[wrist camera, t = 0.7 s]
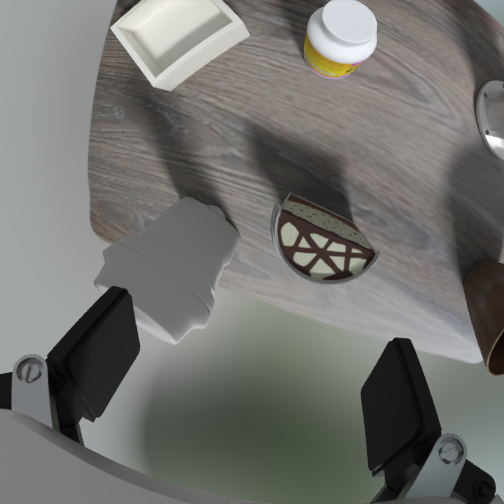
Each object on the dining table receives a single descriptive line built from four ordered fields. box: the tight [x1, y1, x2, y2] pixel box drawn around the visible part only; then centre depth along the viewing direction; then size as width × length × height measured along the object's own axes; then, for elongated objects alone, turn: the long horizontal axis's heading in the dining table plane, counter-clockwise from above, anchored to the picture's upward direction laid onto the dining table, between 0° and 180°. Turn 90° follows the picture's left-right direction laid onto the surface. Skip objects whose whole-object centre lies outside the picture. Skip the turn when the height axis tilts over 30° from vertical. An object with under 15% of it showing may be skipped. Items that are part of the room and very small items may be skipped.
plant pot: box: [464, 260, 504, 376], centre depth 28 cm, size 15×15×16 cm
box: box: [110, 0, 250, 91], centre depth 25 cm, size 13×13×5 cm
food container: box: [271, 192, 380, 285], centre depth 32 cm, size 12×6×10 cm, turn 69°
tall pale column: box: [94, 196, 241, 344], centre depth 28 cm, size 11×4×22 cm, turn 53°
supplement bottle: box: [304, 0, 377, 79], centre depth 21 cm, size 7×7×13 cm
